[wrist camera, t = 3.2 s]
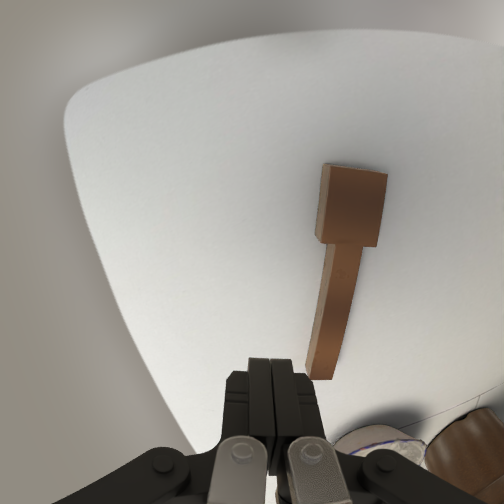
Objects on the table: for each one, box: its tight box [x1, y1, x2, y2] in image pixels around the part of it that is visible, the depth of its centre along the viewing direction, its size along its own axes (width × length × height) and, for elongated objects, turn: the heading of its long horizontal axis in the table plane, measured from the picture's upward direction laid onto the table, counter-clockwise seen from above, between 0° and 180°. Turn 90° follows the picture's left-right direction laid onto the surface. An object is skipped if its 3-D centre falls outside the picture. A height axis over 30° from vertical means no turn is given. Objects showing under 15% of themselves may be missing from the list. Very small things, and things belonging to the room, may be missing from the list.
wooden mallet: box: [305, 164, 388, 380], centre depth 22 cm, size 16×4×2 cm, turn 176°
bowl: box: [333, 424, 427, 466], centre depth 28 cm, size 13×13×5 cm
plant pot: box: [425, 408, 504, 504], centre depth 25 cm, size 16×16×16 cm
